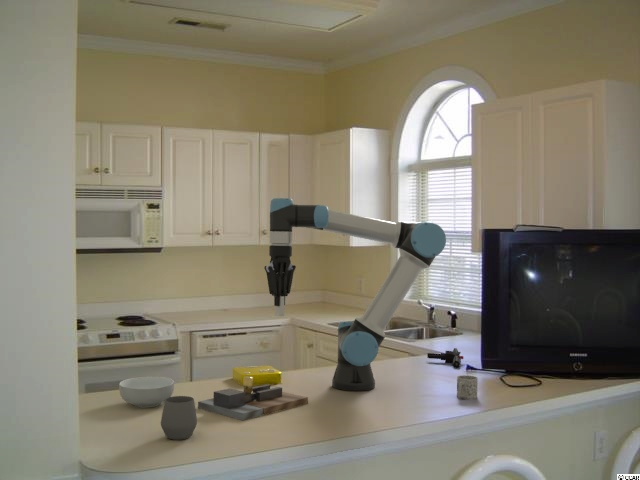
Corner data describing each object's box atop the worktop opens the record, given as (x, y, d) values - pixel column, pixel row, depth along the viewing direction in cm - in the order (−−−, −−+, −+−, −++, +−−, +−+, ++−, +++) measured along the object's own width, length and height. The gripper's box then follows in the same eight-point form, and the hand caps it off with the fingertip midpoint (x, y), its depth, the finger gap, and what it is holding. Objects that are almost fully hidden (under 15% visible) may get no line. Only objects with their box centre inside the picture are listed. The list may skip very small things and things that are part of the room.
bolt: (249, 397, 222) (249, 375, 222) (255, 399, 220) (256, 377, 220) (225, 403, 214) (225, 380, 214) (231, 405, 212) (232, 381, 212)
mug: (461, 394, 243) (462, 374, 243) (480, 396, 239) (480, 377, 239) (449, 399, 235) (449, 379, 235) (468, 402, 231) (468, 382, 231)
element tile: (269, 376, 268) (269, 363, 268) (282, 384, 255) (283, 371, 255) (230, 379, 263) (231, 366, 262) (242, 387, 249) (242, 373, 249)
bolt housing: (266, 392, 230) (266, 380, 230) (282, 396, 226) (282, 383, 226) (213, 405, 213) (213, 391, 213) (229, 409, 209) (229, 395, 209)
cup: (153, 439, 184) (153, 401, 184) (173, 430, 193) (173, 393, 193) (184, 444, 181) (185, 405, 181) (203, 434, 189) (204, 397, 189)
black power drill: (426, 356, 292) (463, 358, 289) (428, 344, 311) (463, 346, 308) (426, 369, 292) (463, 371, 290) (427, 356, 311) (462, 357, 309)
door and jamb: (263, 393, 239) (263, 387, 239) (307, 403, 226) (307, 397, 225) (197, 408, 217) (198, 401, 217) (242, 420, 204) (243, 413, 204)
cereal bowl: (115, 400, 226) (115, 378, 225) (168, 396, 232) (168, 374, 232) (122, 413, 210) (123, 389, 210) (179, 408, 216) (179, 385, 216)
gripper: (285, 244, 244) (284, 313, 244) (258, 244, 234) (257, 316, 234) (302, 245, 239) (300, 315, 239) (275, 245, 229) (273, 318, 229)
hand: (279, 315), depth 236 cm, fingers closed
